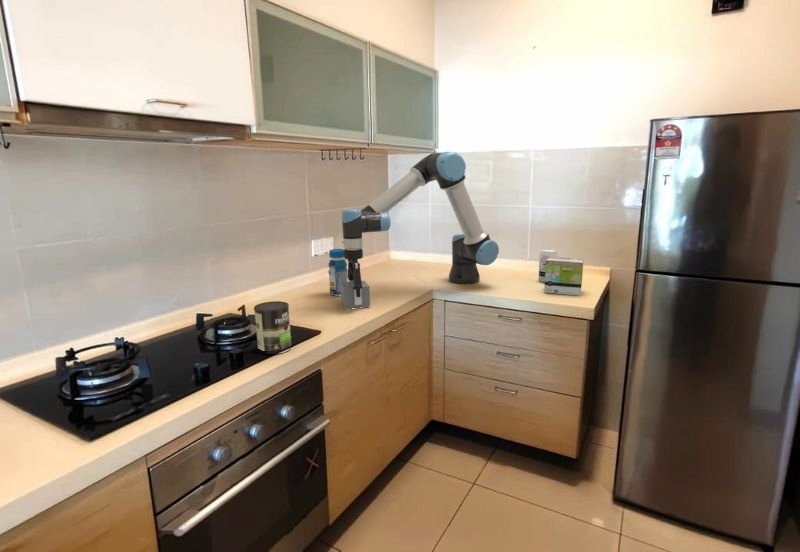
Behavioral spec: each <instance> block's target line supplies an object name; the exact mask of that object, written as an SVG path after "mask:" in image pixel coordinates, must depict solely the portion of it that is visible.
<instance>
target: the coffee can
mask: <svg viewBox="0 0 800 552" xmlns="http://www.w3.org/2000/svg"><path fill="white" fill-rule="evenodd" d="M289 310H290V309H289V303H288V302H285V301H279V300H276V301H267V302H261V303H258V304H256V305H254V307H253V311H254V319H255V329H256V339H257V349H260V350H262V351H277V350H283V349H286V348H288V347H290V346H291V345H292V335H291V322H290V311H289Z"/></svg>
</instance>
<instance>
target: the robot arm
mask: <svg viewBox="0 0 800 552" xmlns="http://www.w3.org/2000/svg"><path fill="white" fill-rule="evenodd" d="M466 167H467V165H466V162H465V160H464V158H463V156H462V155H461V154H459V153H457V152H454V151H442V152H433V153H429V154H428V155H426V156H425V157H424V158H422V159H421V160H420V161H418V162H417V163H415V164H414V165H413V166H412V167H410V169H409V172H408V173H407V174H405V175H404V176H403V177H401V178H400V179H399V180H398V181H396V182H395V183H394V184H393V185H392V186H390V187H389V188H388V189H387V190H385V191H384V192H383V193H382V194H381V195H379V196H377V197H376V198H375V199H374V200H372V201H371V202H370V203H369V204H368V205H366V206H365V207H363V208H362V209H359V208H348V209H344V210H342V212H341V213H342V214H341V224H342V225H341V226H342V238H343V240H342V241H341V243H342V244H343V249H344V259H345V260H347V270H348V273H347V275H348V282H354V287H353V289H354V298H355V305H361V304H362V295H361V288H362V282H361V281H362V275H361V273H362V272H361V264H360V262H359V261H358V260H359V259H360V260H361V259H362V258H363V257H364V256H363V255H364V253H363V252H364V251H363V234H364V233H365V234H366V233H375V232H376V233H378V232H387V231H388V230H390V227H391V222H392V221H391V217H390V214H389V213H388V212H390V211H391V210H392V209H393V208H394V207H396V206H397V205H398V204H399V203H401V202H402V201H403V200H404V199H406V198H407V197H408V196H410V195H411V194H412V193H413V192H415V191H416V190H417V189H418V188H419V187H424V186H425V185H427V184H429V183H430V182H433V181H437V182H436V183H437V184H438V186H439V189H441V190H442V191H444V192H445V194H446V196H447V199H448V200H449V203H450V205H451V207H452V208H451V209H452V210H453V212H454V215H455V218H456V219H457V221H458V224H459V227H460V228H461V231H462V233H459V234H458V233H456V234H453V235H452V240H451V253H452V254H451V255H452V256H451V261H452V262H451V263H452V265H451V267H450V271H449V274H448V281H449V282H450V281H451V282H450V283H453V282H455V283H454V284H460V283H469V284H475V283H479V282H480V281H481V280H480V279H481V276H480V273H479V272H480V271H479V269H478V265H479V266H489V265H492V264H493V263H494V262H495V261H496V260H497V259H498V255H499V253H500V250H499V249H500V248H499V244H498V242H496V241H495V240H493V239H491V237H490V235H489V233H488V231H487V230H485V229H483V227H482V224H481V222H480V219H479V216H478V214H477V212H476V210H475V207H474V204H473V202H472V200H471V197H470V194H469V193H468V189H467V187H466V185H465V180H466V175H465V174H466V169H467V168H466ZM477 264H478V265H477Z"/></svg>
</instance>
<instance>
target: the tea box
mask: <svg viewBox="0 0 800 552" xmlns="http://www.w3.org/2000/svg"><path fill="white" fill-rule="evenodd" d="M583 271H584V258H579V257H564V256H563V257H562V256H560V257H559V256H558V257H549V256H548V258H547V261H546V271H545V283H544V285H543V287H544V289H543V291H544V292H543V293H544V294H559V295H570V296H579V297H580V296H581V293H582V286H583V285H582V284H583Z"/></svg>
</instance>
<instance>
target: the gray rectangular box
mask: <svg viewBox="0 0 800 552" xmlns="http://www.w3.org/2000/svg"><path fill="white" fill-rule="evenodd" d="M361 282H362V288H361V295H362V304H361V305H355V298H354V289H353V287H354V282H349V281H348V282H342V283H340V287H341V296H340V300H341V301H340V303H341V305H342V304H343V305H342V307H343V306H344V307H343V309H344V308H345V309H351V310H353V309H352V308H360V307H369V306H370V307H371V295H370V294H371V292H370V291H371V290H370V289H371V288H370V284H368V283H367V281H366V280H361ZM345 309H344V310H345Z"/></svg>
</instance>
